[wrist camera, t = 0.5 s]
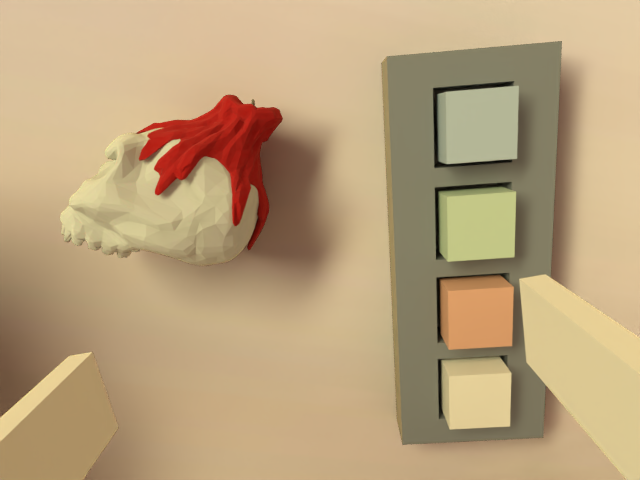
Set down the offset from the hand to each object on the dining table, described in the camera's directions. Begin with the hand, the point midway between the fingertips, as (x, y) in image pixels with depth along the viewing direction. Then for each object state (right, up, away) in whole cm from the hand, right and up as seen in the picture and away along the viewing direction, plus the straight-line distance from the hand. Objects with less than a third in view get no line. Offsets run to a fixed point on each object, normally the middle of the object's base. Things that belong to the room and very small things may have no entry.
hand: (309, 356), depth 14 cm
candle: (-8, +8, +21) cm, 24 cm away
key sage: (+11, +5, +19) cm, 22 cm away
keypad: (+11, +2, +22) cm, 25 cm away
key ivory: (+12, -8, +22) cm, 26 cm away
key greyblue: (+10, +11, +17) cm, 23 cm away
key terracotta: (+12, -1, +20) cm, 23 cm away
